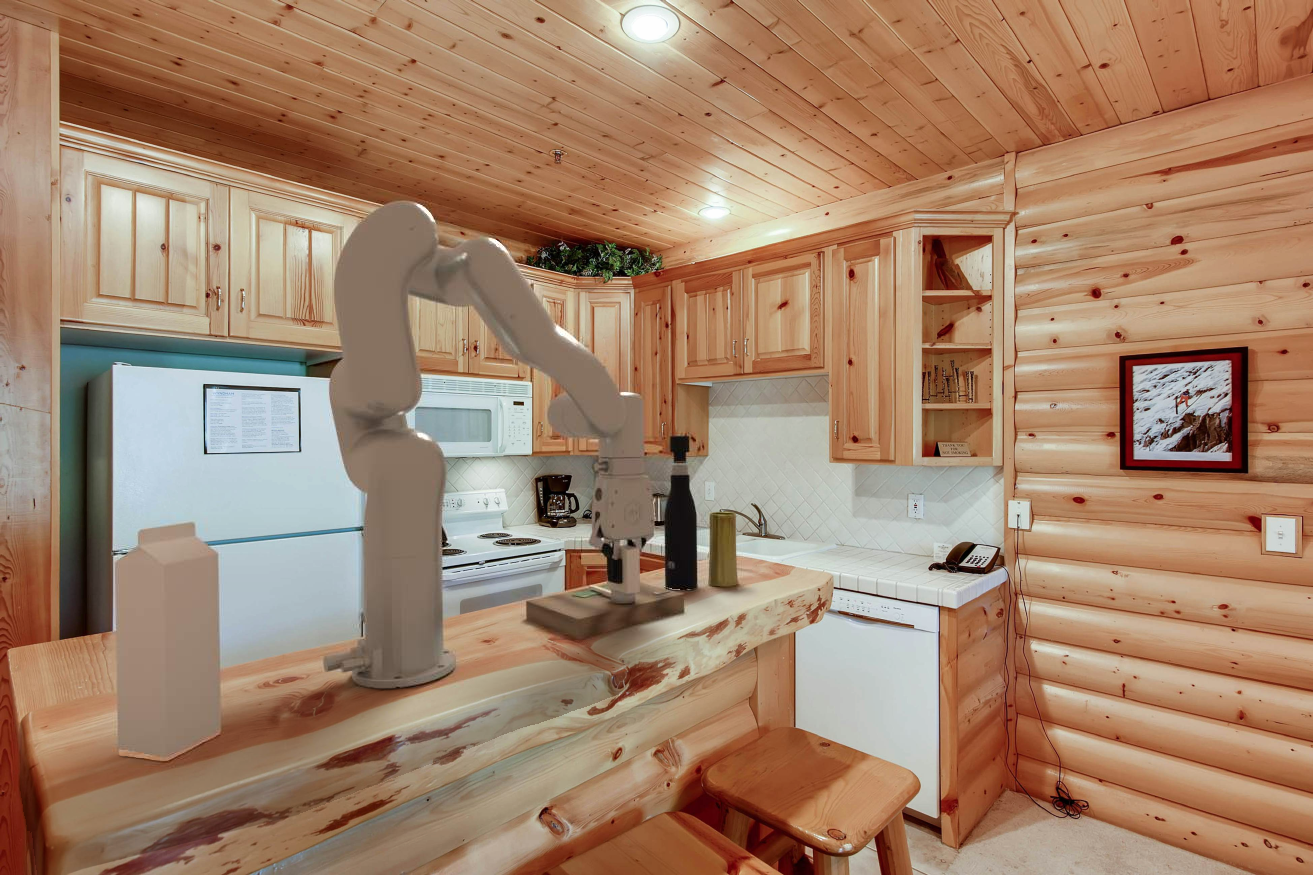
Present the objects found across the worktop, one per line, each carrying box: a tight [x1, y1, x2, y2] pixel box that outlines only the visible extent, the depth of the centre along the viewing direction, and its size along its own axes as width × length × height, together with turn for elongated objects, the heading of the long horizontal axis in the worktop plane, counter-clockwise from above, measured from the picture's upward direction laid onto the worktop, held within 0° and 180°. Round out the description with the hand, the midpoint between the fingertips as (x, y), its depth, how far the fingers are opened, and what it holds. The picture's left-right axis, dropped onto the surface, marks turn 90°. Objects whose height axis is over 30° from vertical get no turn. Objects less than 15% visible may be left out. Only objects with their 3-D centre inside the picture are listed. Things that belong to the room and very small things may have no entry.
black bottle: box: [663, 435, 698, 591], centre depth 130 cm, size 6×6×30 cm
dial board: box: [525, 582, 685, 640], centre depth 111 cm, size 22×15×3 cm
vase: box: [707, 511, 739, 588], centre depth 132 cm, size 6×6×14 cm
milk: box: [114, 521, 222, 758], centre depth 65 cm, size 6×6×22 cm
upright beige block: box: [588, 543, 641, 604], centre depth 110 cm, size 13×4×9 cm, turn 37°
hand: (623, 579), depth 107 cm, fingers closed on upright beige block, 2 cm apart
